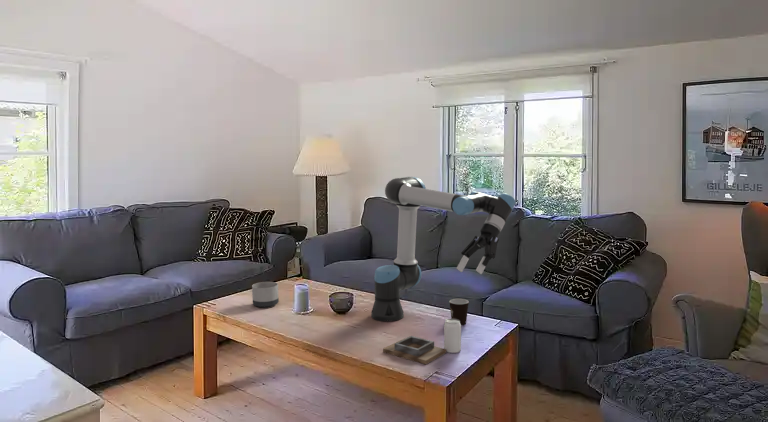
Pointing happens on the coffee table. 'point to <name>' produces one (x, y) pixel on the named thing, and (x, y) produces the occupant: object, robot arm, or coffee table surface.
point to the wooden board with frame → (415, 350)
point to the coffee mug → (459, 310)
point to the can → (452, 336)
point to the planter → (265, 294)
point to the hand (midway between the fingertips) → (468, 271)
